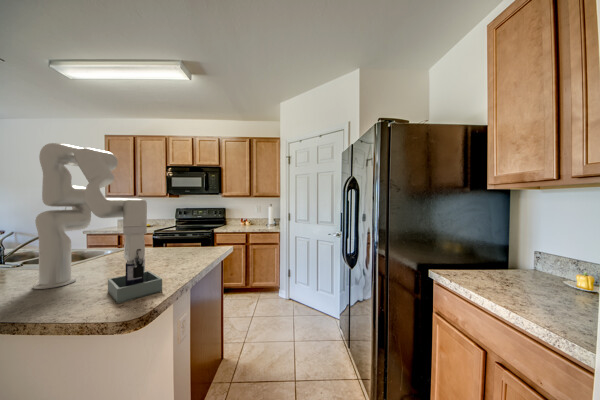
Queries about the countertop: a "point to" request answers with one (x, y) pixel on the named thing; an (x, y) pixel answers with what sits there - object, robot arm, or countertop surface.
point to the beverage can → (131, 275)
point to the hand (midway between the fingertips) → (135, 274)
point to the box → (134, 287)
